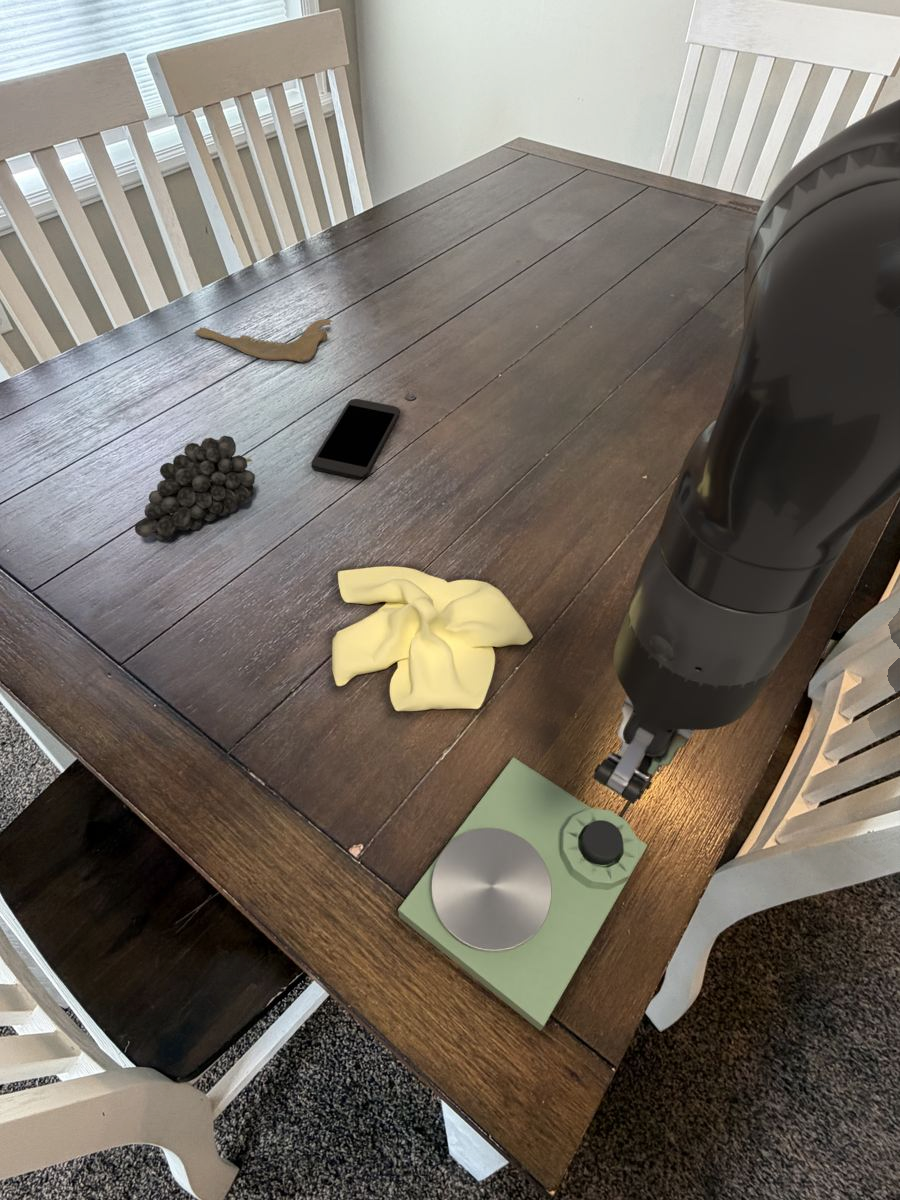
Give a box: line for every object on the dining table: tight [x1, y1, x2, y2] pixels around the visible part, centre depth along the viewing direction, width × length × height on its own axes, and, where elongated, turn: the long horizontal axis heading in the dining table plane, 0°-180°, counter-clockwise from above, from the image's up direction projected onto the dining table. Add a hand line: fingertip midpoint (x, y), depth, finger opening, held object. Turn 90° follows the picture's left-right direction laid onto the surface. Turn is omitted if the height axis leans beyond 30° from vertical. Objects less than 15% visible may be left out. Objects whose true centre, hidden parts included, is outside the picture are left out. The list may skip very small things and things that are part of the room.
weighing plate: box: [431, 828, 552, 953], centre depth 55 cm, size 9×9×1 cm
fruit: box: [134, 435, 256, 541], centre depth 82 cm, size 9×8×15 cm
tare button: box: [581, 820, 623, 865], centre depth 57 cm, size 3×3×2 cm
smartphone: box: [311, 398, 401, 480], centre depth 94 cm, size 7×15×1 cm, turn 165°
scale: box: [397, 757, 648, 1032], centre depth 57 cm, size 16×13×4 cm
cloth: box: [331, 565, 534, 712], centre depth 72 cm, size 22×19×6 cm
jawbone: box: [193, 318, 333, 363], centre depth 107 cm, size 9×20×2 cm, turn 95°
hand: (631, 778), depth 48 cm, fingers closed
